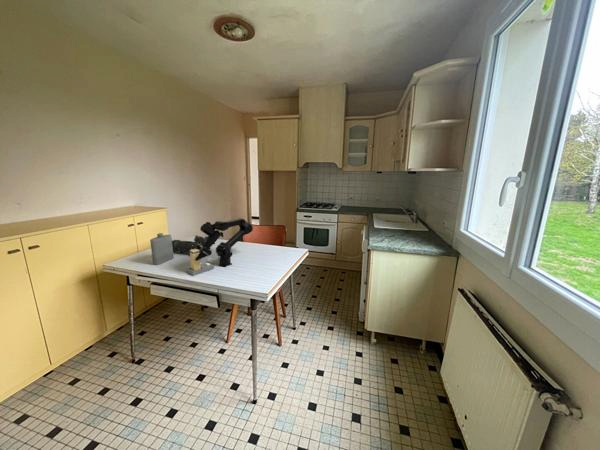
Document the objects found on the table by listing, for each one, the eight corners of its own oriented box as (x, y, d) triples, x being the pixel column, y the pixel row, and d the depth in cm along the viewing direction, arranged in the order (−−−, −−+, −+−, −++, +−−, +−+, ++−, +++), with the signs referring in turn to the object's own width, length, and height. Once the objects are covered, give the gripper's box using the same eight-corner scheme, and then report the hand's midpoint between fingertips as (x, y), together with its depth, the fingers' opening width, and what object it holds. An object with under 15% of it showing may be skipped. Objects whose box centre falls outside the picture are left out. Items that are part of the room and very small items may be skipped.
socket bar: (207, 265, 154) (206, 261, 154) (214, 268, 150) (213, 264, 149) (186, 272, 143) (186, 267, 143) (193, 275, 139) (192, 271, 138)
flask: (168, 257, 168) (166, 230, 164) (175, 258, 167) (172, 231, 163) (150, 264, 154) (146, 235, 150) (157, 265, 153) (153, 236, 149)
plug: (197, 269, 147) (196, 248, 144) (201, 271, 144) (199, 250, 141) (191, 271, 144) (189, 250, 141) (194, 273, 141) (192, 251, 138)
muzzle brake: (201, 257, 169) (200, 244, 167) (168, 254, 175) (166, 241, 172) (208, 253, 178) (207, 240, 176) (177, 250, 184) (175, 238, 182)
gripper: (199, 227, 149) (181, 246, 146) (204, 234, 134) (185, 255, 130) (212, 237, 155) (196, 256, 151) (219, 245, 139) (201, 265, 136)
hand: (194, 258), depth 142 cm, fingers open, 9 cm apart
